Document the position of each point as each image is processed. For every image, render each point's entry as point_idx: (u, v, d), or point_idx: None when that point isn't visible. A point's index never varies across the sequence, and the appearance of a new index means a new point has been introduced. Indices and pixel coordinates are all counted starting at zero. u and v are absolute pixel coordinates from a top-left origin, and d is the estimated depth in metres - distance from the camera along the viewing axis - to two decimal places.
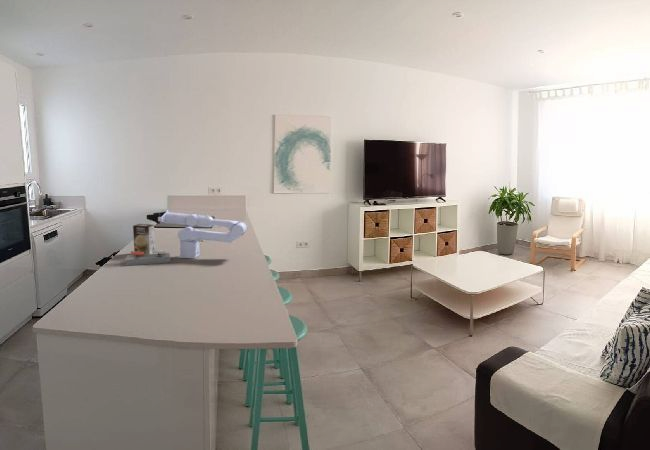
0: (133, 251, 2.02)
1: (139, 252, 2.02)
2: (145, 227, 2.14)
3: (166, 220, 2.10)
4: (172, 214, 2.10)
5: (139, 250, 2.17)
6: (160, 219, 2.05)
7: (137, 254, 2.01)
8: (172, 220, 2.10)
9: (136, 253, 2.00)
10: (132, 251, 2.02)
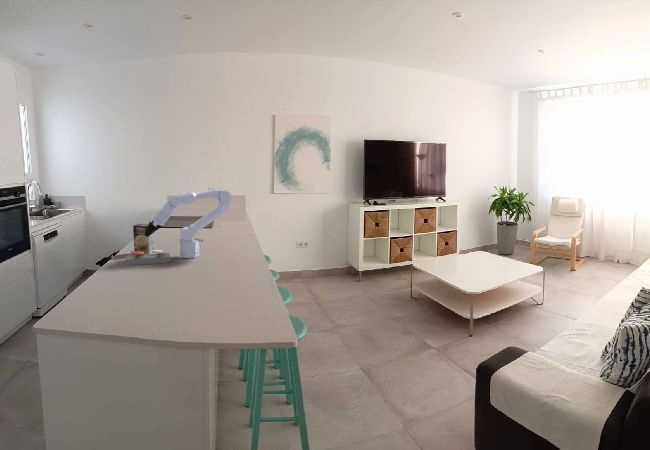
0: (133, 251, 2.02)
1: (139, 252, 2.02)
2: (145, 227, 2.14)
3: (160, 222, 2.06)
4: (158, 213, 2.06)
5: (139, 250, 2.17)
6: (155, 223, 2.01)
7: (137, 254, 2.01)
8: (164, 216, 2.06)
9: (136, 253, 2.00)
10: (132, 251, 2.02)
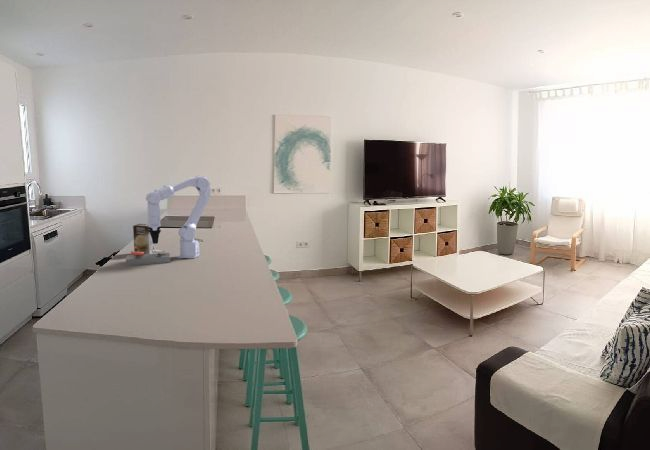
0: (133, 251, 2.02)
1: (139, 252, 2.02)
2: (145, 227, 2.14)
3: (157, 224, 2.02)
4: (149, 218, 2.01)
5: (139, 250, 2.17)
6: (154, 227, 1.97)
7: (137, 254, 2.01)
8: (155, 217, 2.01)
9: (136, 253, 2.00)
10: (132, 251, 2.02)
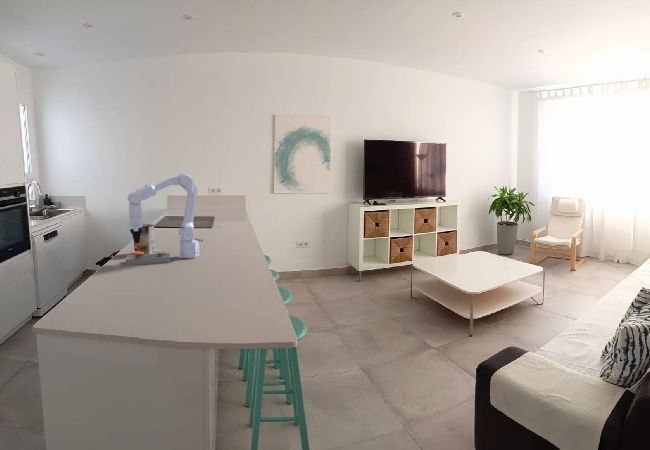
0: (133, 251, 2.02)
1: (139, 252, 2.02)
2: (145, 227, 2.14)
3: (138, 224, 1.98)
4: (130, 219, 1.97)
5: (139, 250, 2.17)
6: (135, 228, 1.94)
7: (137, 254, 2.01)
8: (137, 218, 1.97)
9: (136, 253, 2.00)
10: (132, 251, 2.02)
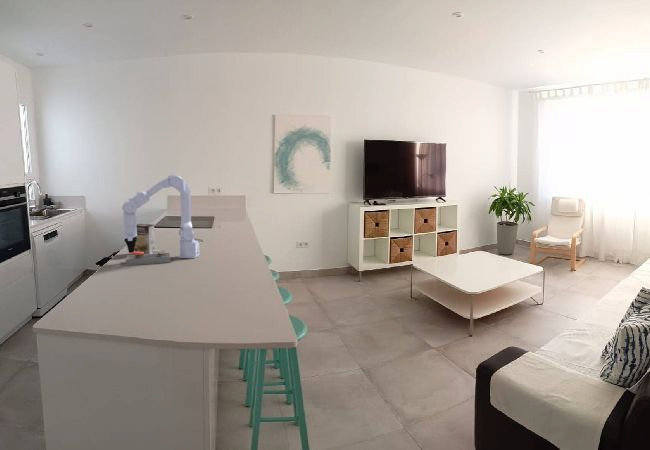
0: None
1: (139, 252, 2.02)
2: (145, 227, 2.14)
3: (133, 234, 1.98)
4: (125, 228, 1.97)
5: (139, 250, 2.17)
6: (130, 238, 1.93)
7: (137, 254, 2.01)
8: (131, 227, 1.97)
9: (136, 253, 2.00)
10: None
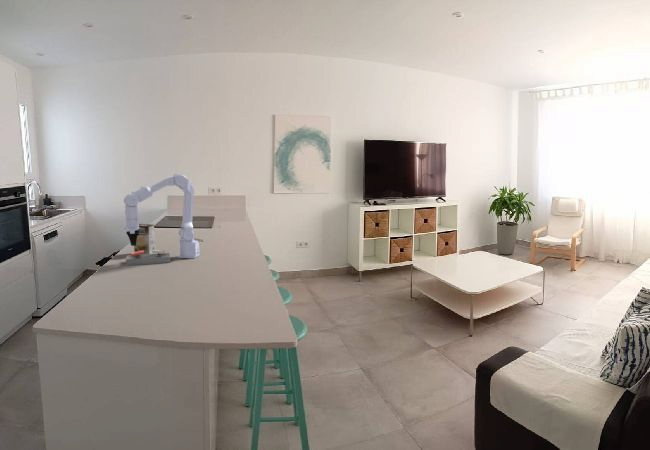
0: (133, 252, 2.02)
1: (139, 251, 2.02)
2: (145, 227, 2.14)
3: (135, 227, 1.98)
4: (127, 221, 1.97)
5: (139, 250, 2.17)
6: (132, 231, 1.93)
7: (137, 254, 2.01)
8: (133, 220, 1.97)
9: (136, 253, 2.00)
10: (132, 253, 2.02)
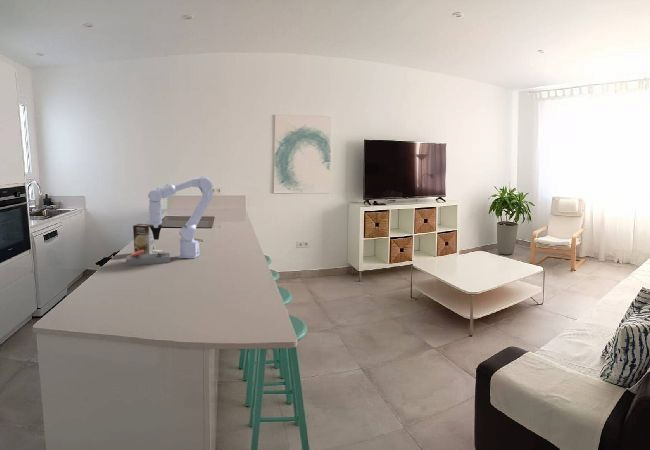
0: (133, 253, 2.02)
1: (138, 251, 2.02)
2: (145, 227, 2.14)
3: (158, 221, 2.04)
4: (150, 216, 2.03)
5: (139, 250, 2.17)
6: (156, 225, 1.99)
7: (137, 254, 2.01)
8: (157, 215, 2.03)
9: (136, 253, 2.01)
10: (132, 253, 2.02)
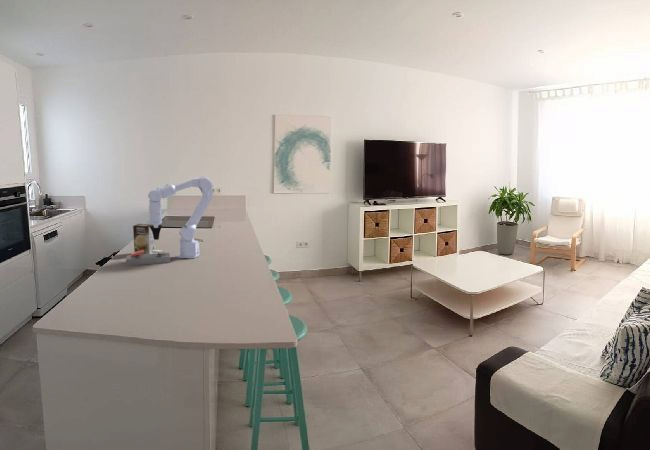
0: (133, 253, 2.02)
1: (138, 251, 2.02)
2: (145, 227, 2.14)
3: (158, 221, 2.04)
4: (150, 216, 2.03)
5: (139, 250, 2.17)
6: (156, 225, 1.99)
7: (137, 254, 2.01)
8: (157, 215, 2.03)
9: (136, 253, 2.01)
10: (132, 253, 2.02)
